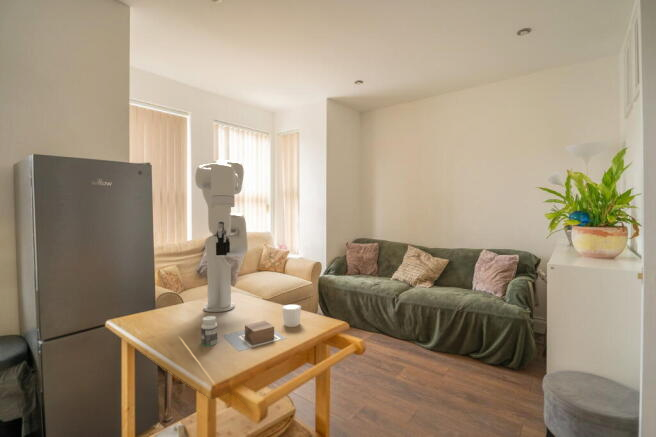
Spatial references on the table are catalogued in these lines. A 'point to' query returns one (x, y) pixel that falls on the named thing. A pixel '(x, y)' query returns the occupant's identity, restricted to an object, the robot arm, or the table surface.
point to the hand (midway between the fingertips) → (223, 253)
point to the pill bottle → (209, 331)
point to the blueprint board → (243, 343)
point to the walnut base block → (259, 332)
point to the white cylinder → (291, 315)
